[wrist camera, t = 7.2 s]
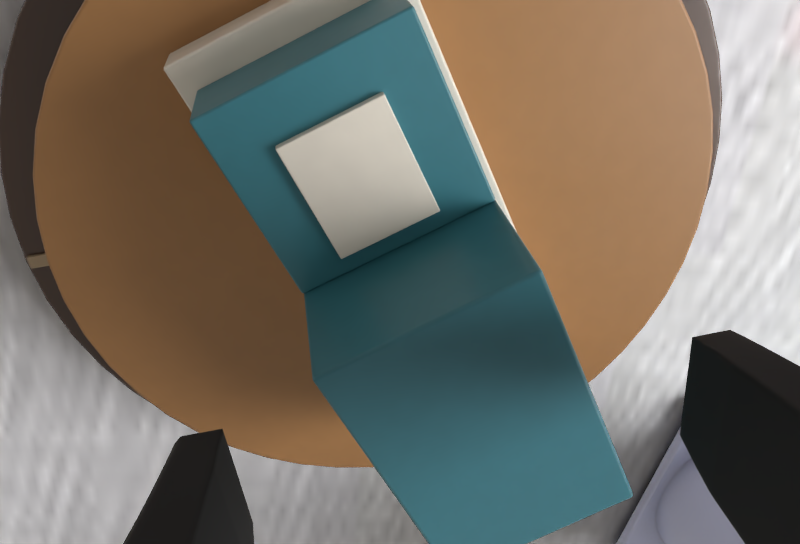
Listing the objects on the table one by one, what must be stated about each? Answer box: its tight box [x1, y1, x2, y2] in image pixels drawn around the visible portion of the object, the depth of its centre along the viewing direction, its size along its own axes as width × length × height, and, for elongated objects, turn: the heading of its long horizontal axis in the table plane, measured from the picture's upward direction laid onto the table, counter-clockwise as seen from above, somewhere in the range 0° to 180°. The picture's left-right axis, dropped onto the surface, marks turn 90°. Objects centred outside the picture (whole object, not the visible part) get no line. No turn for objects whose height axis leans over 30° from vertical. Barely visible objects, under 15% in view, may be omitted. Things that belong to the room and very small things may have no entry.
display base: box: [0, 0, 722, 403], centre depth 18 cm, size 17×17×2 cm
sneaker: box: [33, 0, 713, 544], centre depth 14 cm, size 15×15×6 cm
